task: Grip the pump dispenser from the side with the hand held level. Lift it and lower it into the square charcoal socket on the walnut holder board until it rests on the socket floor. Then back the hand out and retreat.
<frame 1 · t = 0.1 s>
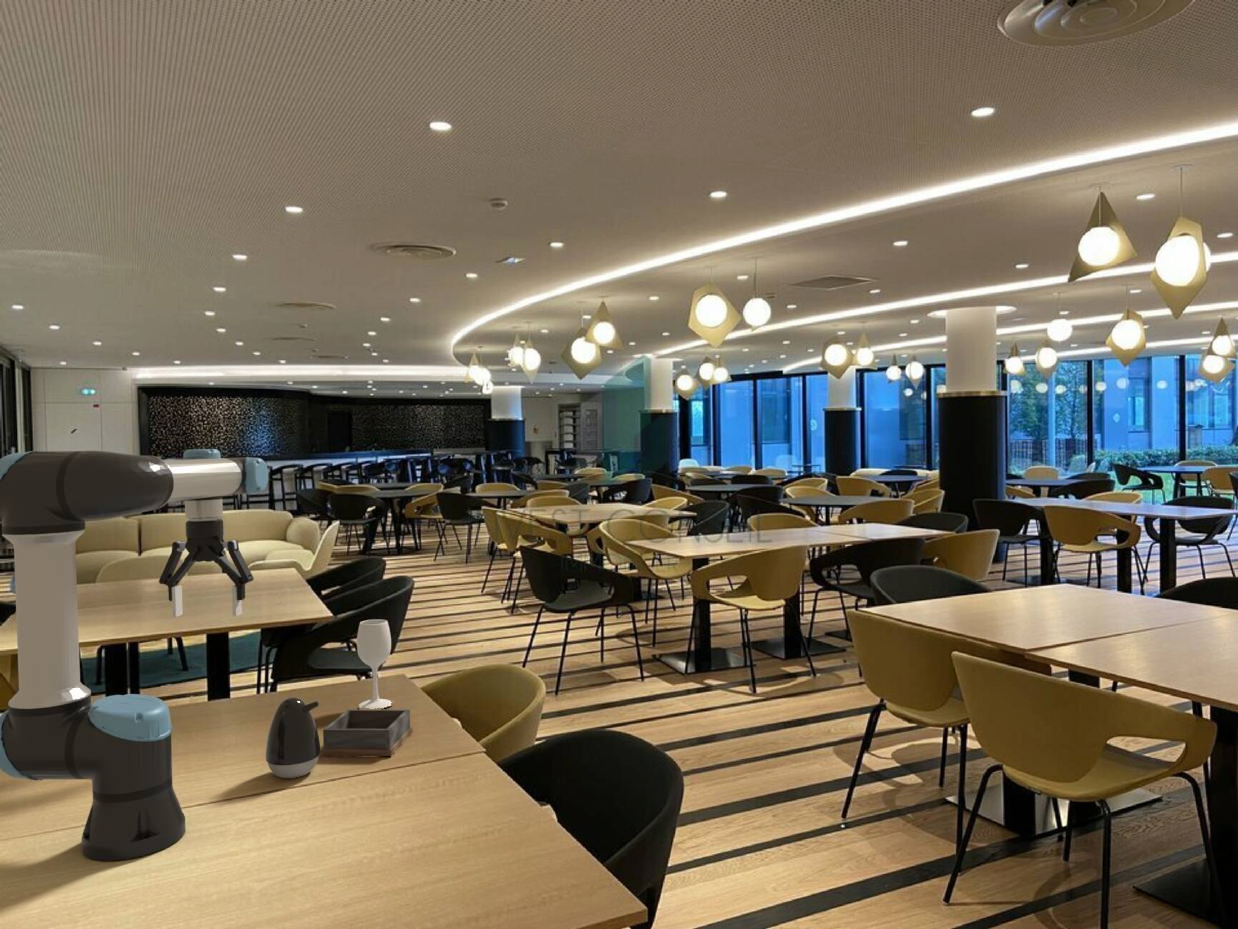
hand: (207, 615, 198), 28 cm above the table, tool pointing down, fingers open, 13 cm apart
wineglass: (375, 706, 223), on the table
holder: (368, 744, 194), on the table
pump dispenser: (294, 774, 178), on the table
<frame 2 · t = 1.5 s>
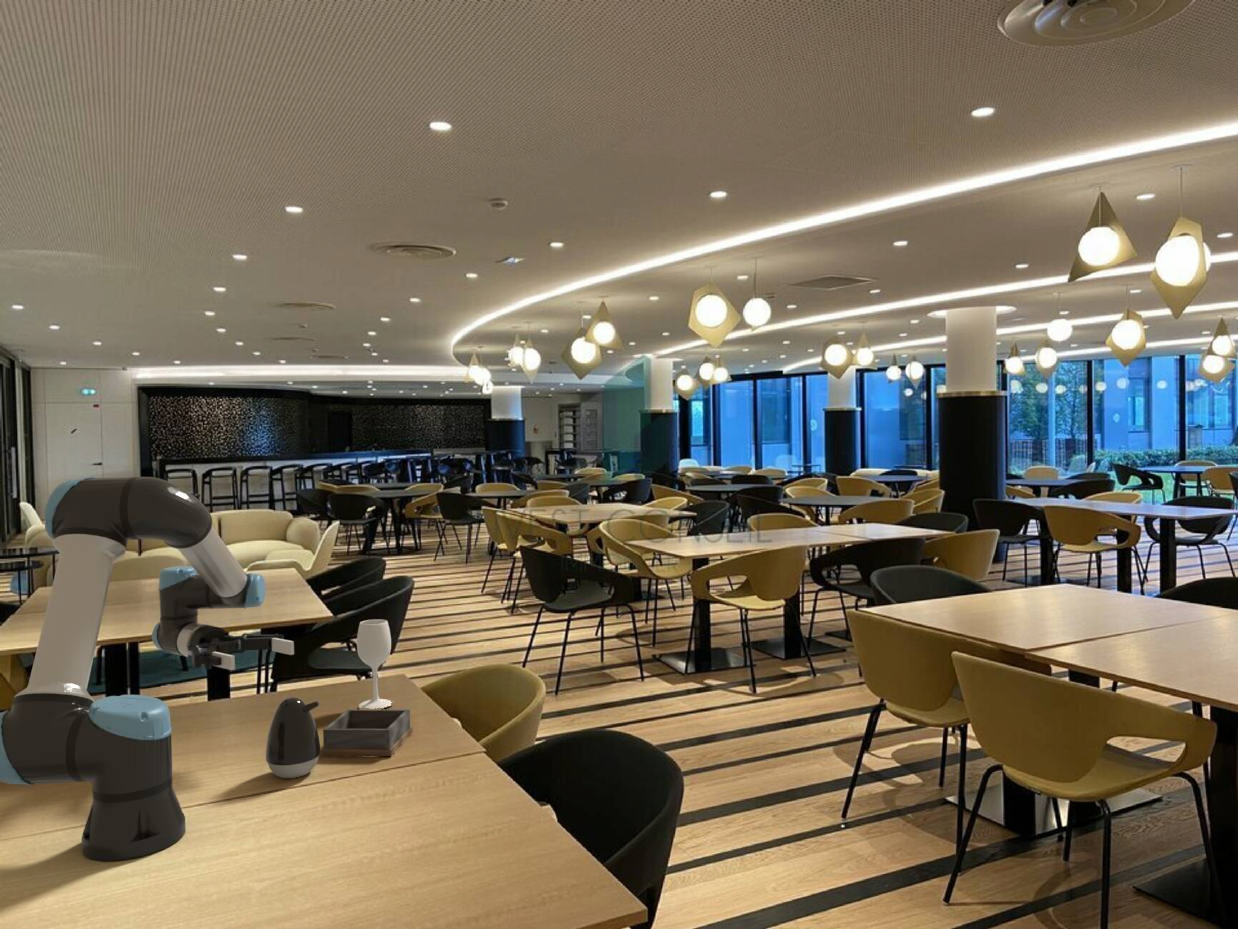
hand: (263, 655, 183), 22 cm above the table, tool horizontal, fingers open, 13 cm apart
nothing on the table moved.
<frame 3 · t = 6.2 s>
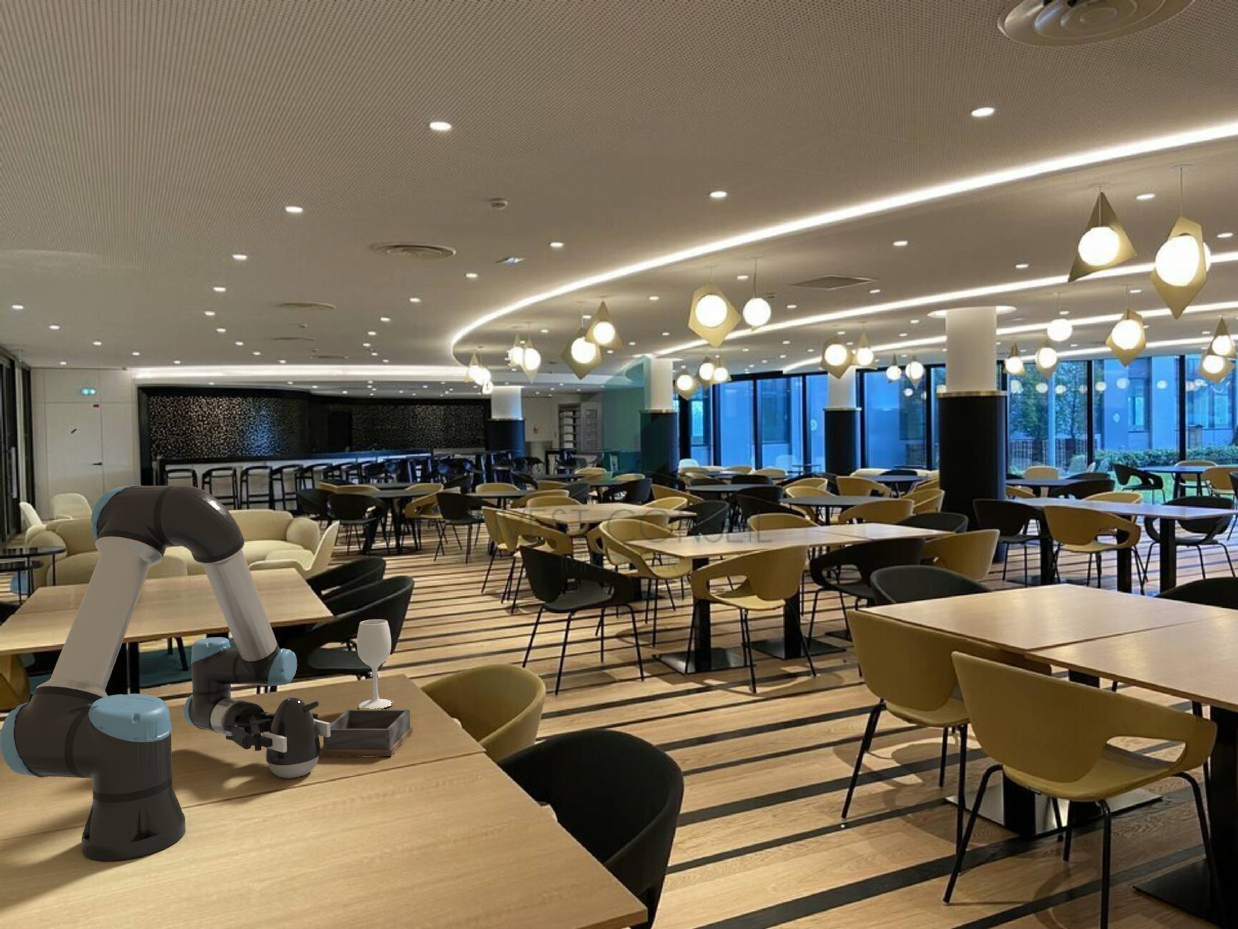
hand: (307, 737, 175), 8 cm above the table, tool horizontal, fingers closed on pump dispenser, 9 cm apart
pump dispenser: (294, 774, 178), on the table, touching gripper
everything else where it was.
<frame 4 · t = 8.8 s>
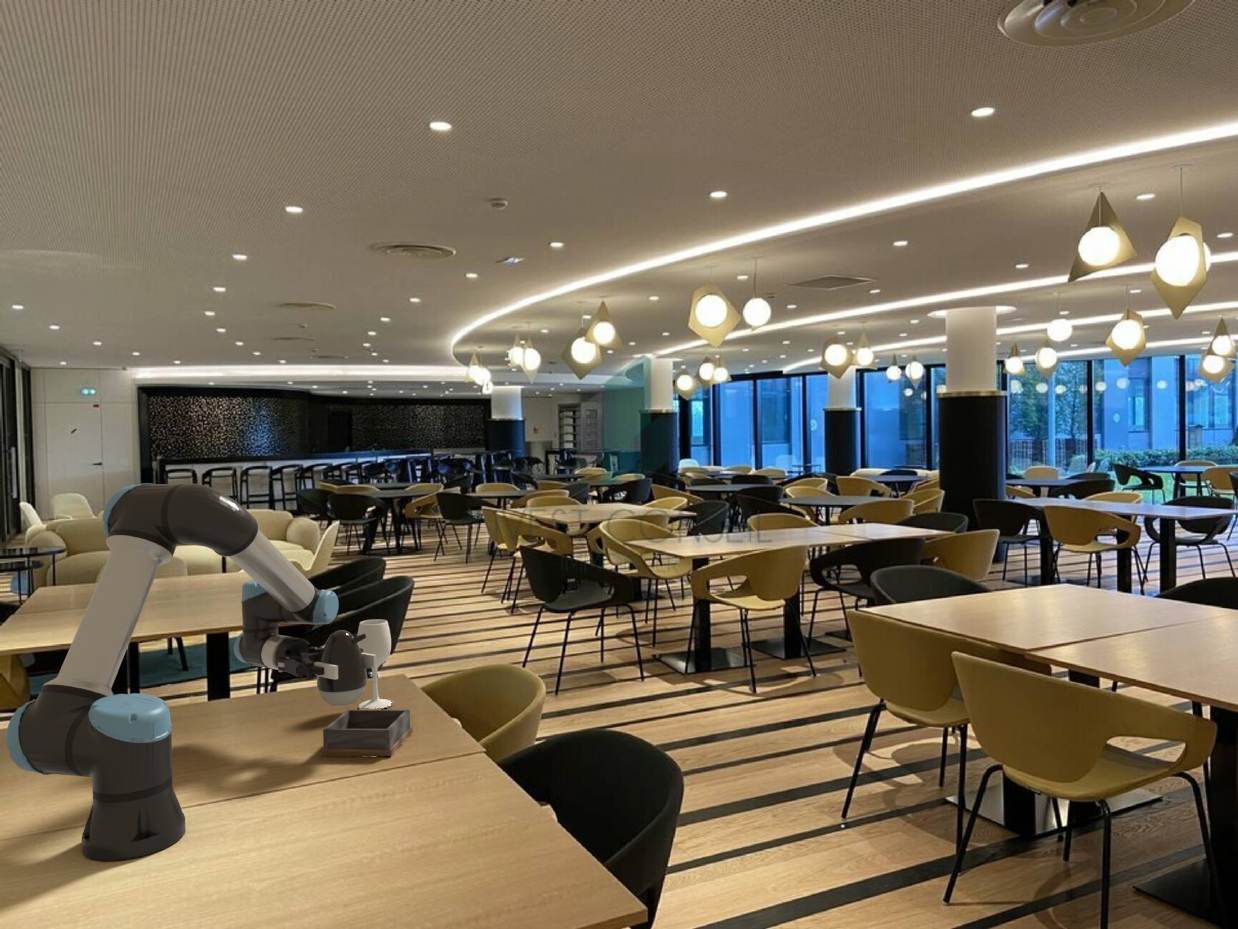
hand: (356, 667, 187), 19 cm above the table, tool horizontal, fingers closed on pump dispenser, 9 cm apart
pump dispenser: (343, 702, 189), point 11 cm above the table, touching gripper
everything else where it was.
when the fingers open (11 cm above the table, at t = 11.5 s): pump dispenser drops 1 cm, resting on holder.
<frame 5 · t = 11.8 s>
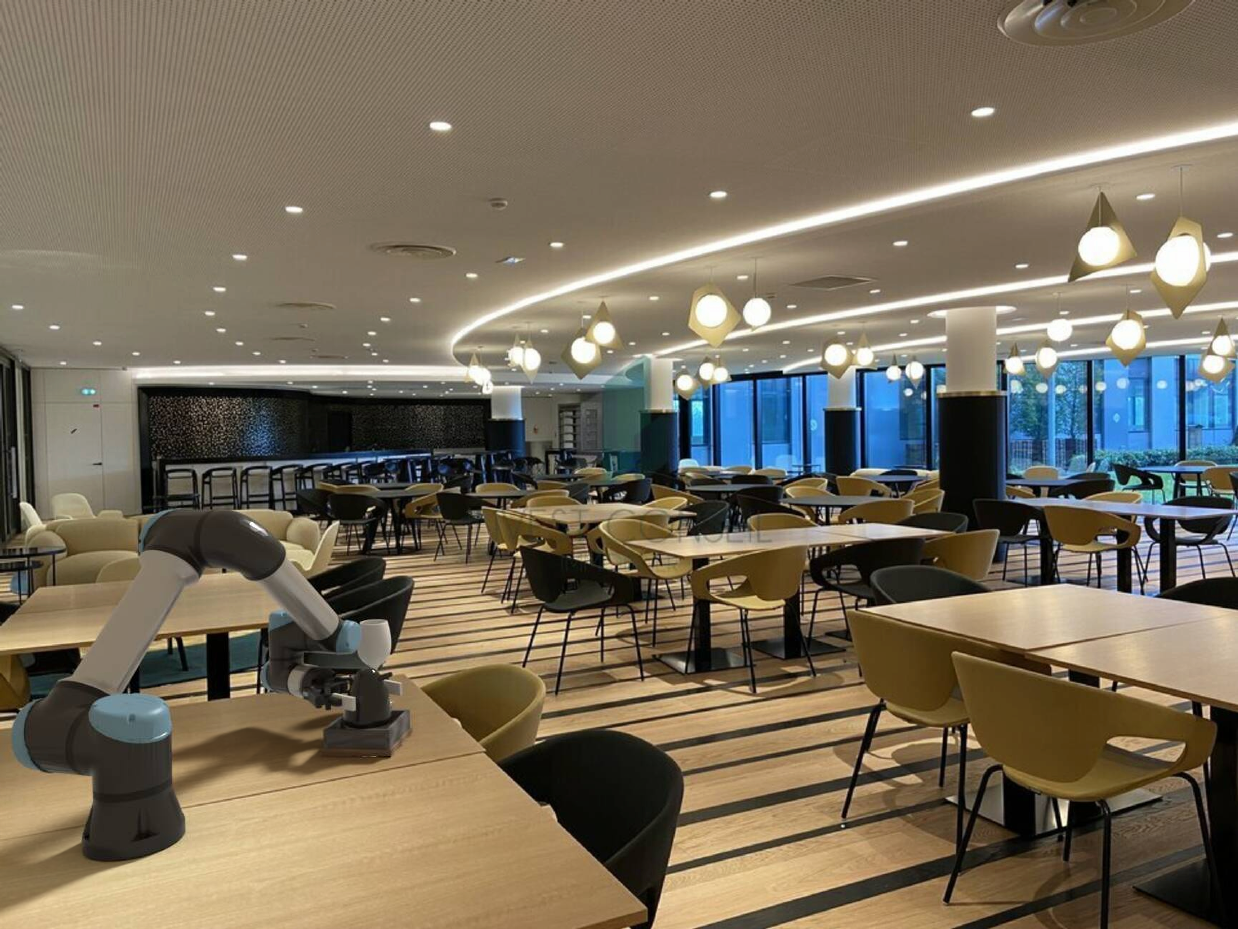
hand: (378, 696, 192), 11 cm above the table, tool horizontal, fingers open, 12 cm apart
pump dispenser: (368, 737, 194), point 1 cm above the table, touching holder
everything else where it was.
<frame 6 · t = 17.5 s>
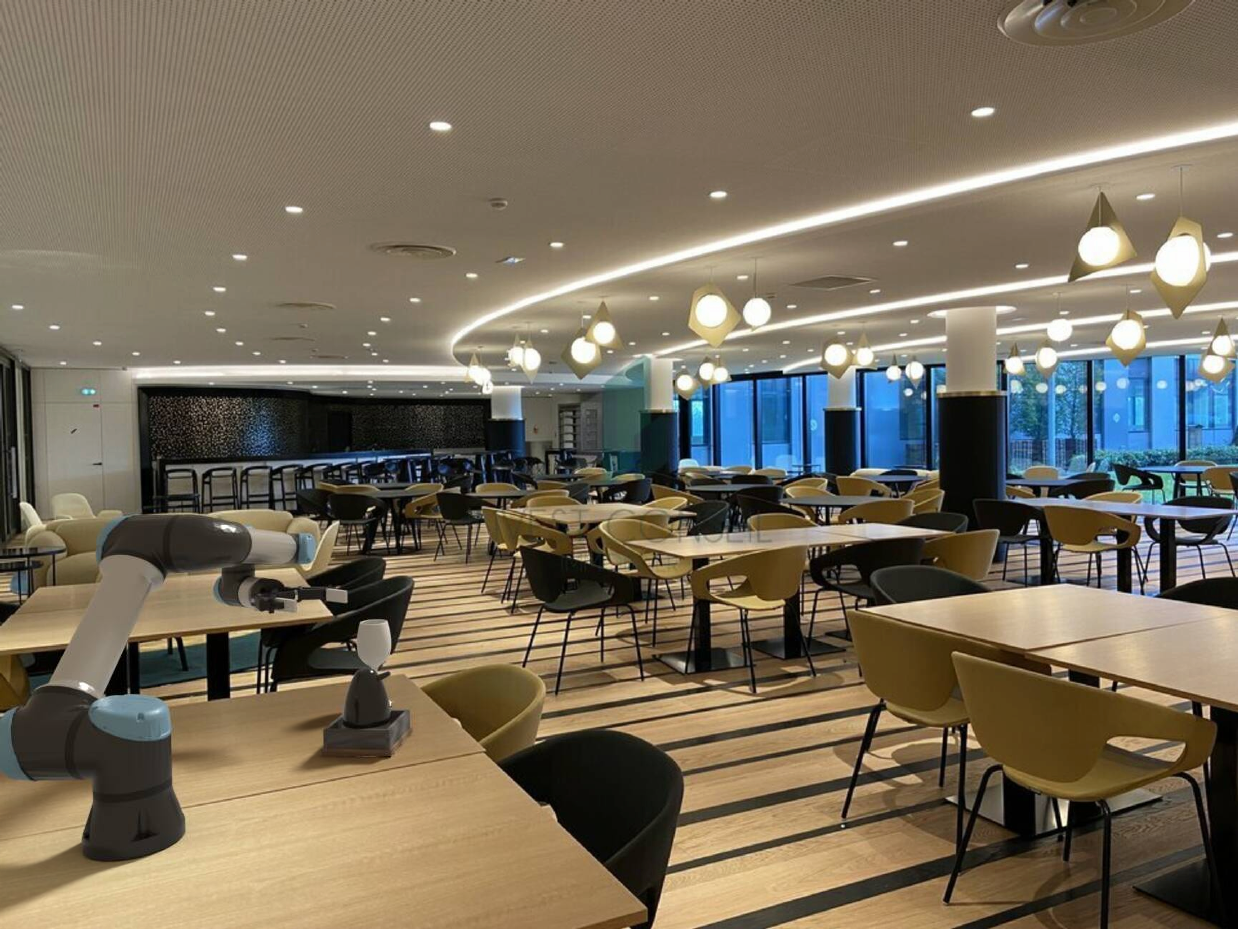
hand: (321, 601, 201), 30 cm above the table, tool horizontal, fingers open, 13 cm apart
nothing on the table moved.
at the end: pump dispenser 0.1 cm off-centre on the holder, point 1.3 cm above the holder's base; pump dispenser tilted 0°; the gripper is holding nothing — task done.
